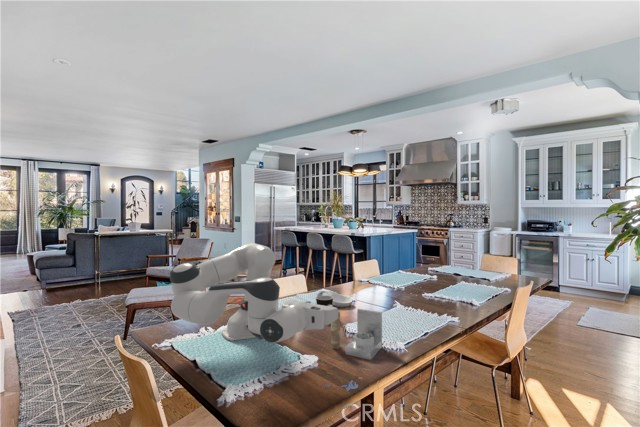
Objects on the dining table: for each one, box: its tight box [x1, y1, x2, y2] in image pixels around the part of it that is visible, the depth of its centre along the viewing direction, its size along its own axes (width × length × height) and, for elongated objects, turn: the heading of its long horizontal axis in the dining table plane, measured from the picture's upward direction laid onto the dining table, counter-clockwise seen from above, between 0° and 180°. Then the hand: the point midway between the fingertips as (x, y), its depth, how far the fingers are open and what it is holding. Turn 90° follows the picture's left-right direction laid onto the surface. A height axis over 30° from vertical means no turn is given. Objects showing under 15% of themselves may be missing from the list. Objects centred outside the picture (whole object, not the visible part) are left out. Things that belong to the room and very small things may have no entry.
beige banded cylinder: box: [330, 310, 341, 350], centre depth 136 cm, size 4×4×14 cm
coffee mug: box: [315, 294, 333, 306], centre depth 173 cm, size 12×9×10 cm
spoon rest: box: [316, 289, 353, 308], centre depth 195 cm, size 24×12×7 cm, turn 48°
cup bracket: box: [345, 308, 383, 361], centre depth 132 cm, size 12×10×14 cm
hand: (320, 305), depth 125 cm, fingers open, 8 cm apart
